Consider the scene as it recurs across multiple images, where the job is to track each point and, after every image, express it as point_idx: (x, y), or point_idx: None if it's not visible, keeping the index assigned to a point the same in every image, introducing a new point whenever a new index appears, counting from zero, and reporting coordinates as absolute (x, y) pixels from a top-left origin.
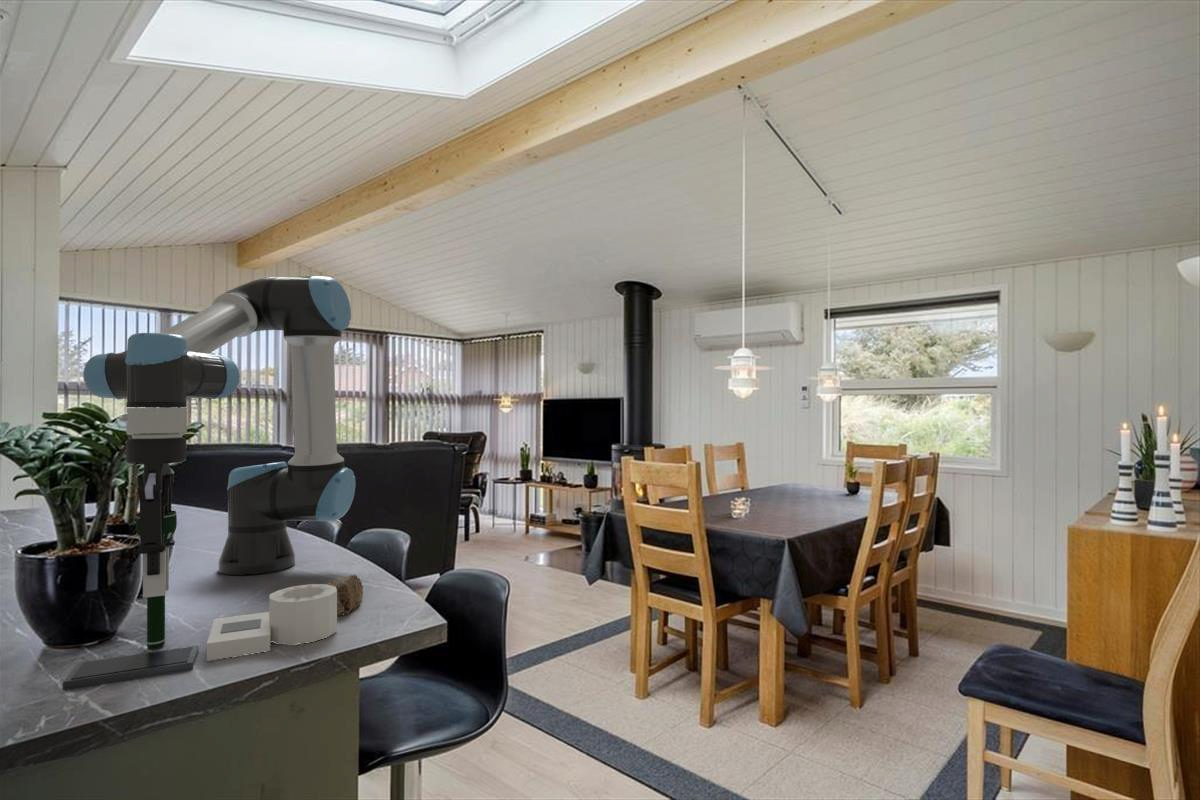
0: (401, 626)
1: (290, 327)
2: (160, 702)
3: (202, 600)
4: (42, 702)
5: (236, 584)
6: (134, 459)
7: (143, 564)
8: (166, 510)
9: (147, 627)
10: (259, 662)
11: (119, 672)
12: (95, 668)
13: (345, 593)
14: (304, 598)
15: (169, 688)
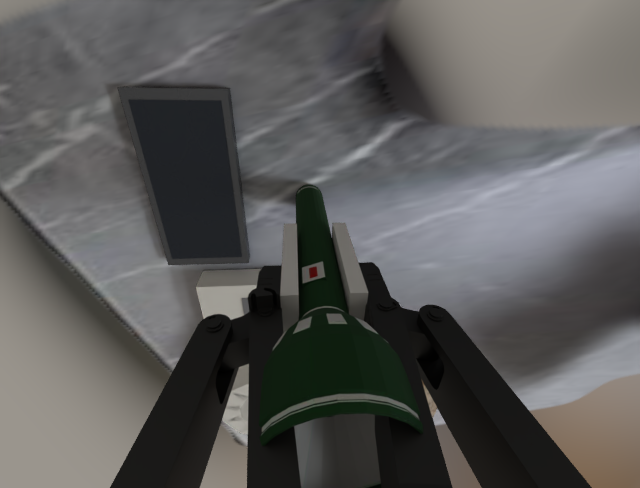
0: None
1: None
2: (49, 239)
3: (559, 227)
4: (68, 65)
5: (623, 267)
6: None
7: (281, 273)
8: (382, 482)
9: (303, 198)
10: (178, 323)
11: (147, 174)
12: (176, 131)
13: None
14: (234, 413)
15: (102, 241)
